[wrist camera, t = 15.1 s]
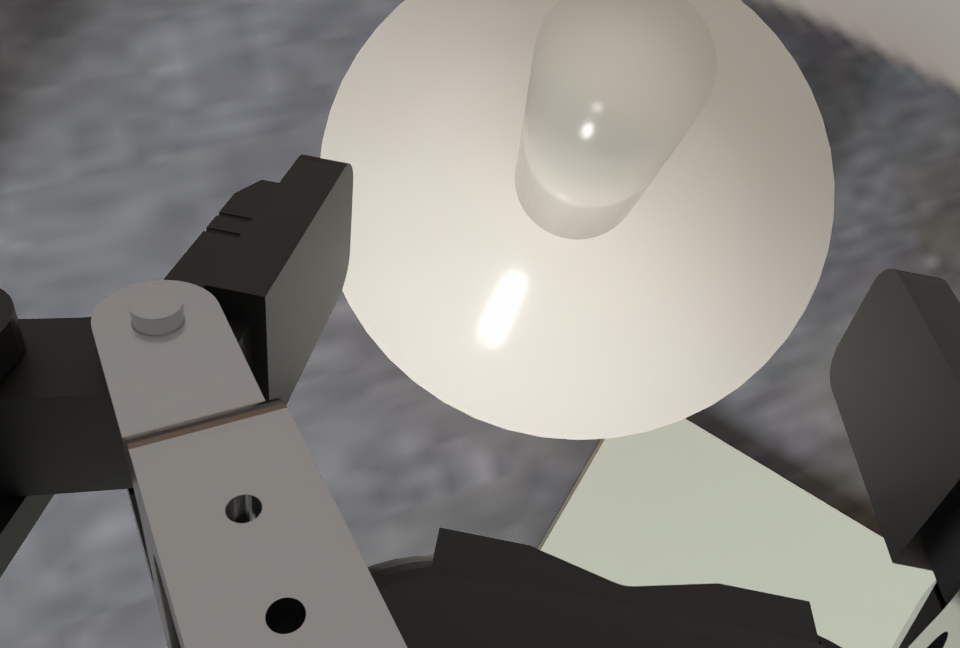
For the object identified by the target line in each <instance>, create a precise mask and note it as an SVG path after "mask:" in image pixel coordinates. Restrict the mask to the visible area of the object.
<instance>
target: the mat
mask: <svg viewBox="0 0 960 648" xmlns="http://www.w3.org/2000/svg"><path fill="white" fill-rule="evenodd" d="M537 549H539V550H541V551H543V552H546V553H548V554H550V555H553V556H555V557H557V558H559V559H562V560H564V561H566V562H569V563H571V564H573V565H576V566H578V567H580V568H582V569H585V570H587V571H589V572H592V573H594V574H596V575H599V576H601V577H603V578H606V579H608V580H610V581H612V582H615V583H618V584H620V585H625V586H657V585H685V584H712V583H719V584H724V585H729V586H734V587H739V588H744V589H749V590H754V591H759V592H764V593H769V594H774V595H779V596H784V597H789V598H795V599H800V600H805V601H810V605H811V610H812V614H813V618H814V622H815V626H816V631H817V635H819V636H821V637H823V638H825V639H828V640H829V641H831V642H833V643H835V644H837V645H838V646H840V647H842V648H892V646H893V644H894V643H895V641H896V639H897V638H898V636H899V634H900V633H901V631H902V629H903V627H904V626H905V624H906V622H907V621H908V619H909V617H910V616H911V614H912V612H913V610H914V609H915V607H916V605H917V604H918V602H919V600H920V598H921V597H922V595H923V594H924V593H925V592H926V591H927V590H928V588H929V587H930V586H931V585H932V584H933V583H934V582H935V580H936V578H935V575H934V573H933V571H930V570H925V569H920V568H915V567H910V566H905V565H900V564H895V563H892V560H891V557H890V555H889V552H888V549H887V546H886V543H885V540H884V538H883V537H881V536H879V535H878V534H876V533H874V532H873V531H871V530H869V529H868V528H866V527H864V526H863V525H861V524H859V523H858V522H856V521H854V520H853V519H851V518H850V517H848V516H846V515H845V514H843V513H841V512H840V511H838V510H836V509H835V508H833V507H831V506H830V505H828V504H826V503H825V502H823V501H821V500H820V499H818V498H816V497H815V496H813V495H811V494H810V493H808V492H806V491H805V490H803V489H801V488H800V487H798V486H796V485H795V484H793V483H791V482H790V481H788V480H786V479H785V478H783V477H781V476H780V475H778V474H776V473H775V472H773V471H771V470H770V469H768V468H767V467H765V466H763V465H762V464H760V463H758V462H757V461H755V460H753V459H752V458H750V457H748V456H747V455H745V454H743V453H742V452H740V451H738V450H737V449H735V448H733V447H732V446H730V445H728V444H727V443H725V442H723V441H722V440H720V439H718V438H717V437H715V436H713V435H712V434H710V433H708V432H707V431H705V430H703V429H702V428H700V427H698V426H697V425H695V424H693V423H692V422H690V421H688V420H687V419H683V420H681V421H678V422H675V423H672V424H669V425H666V426H663V427H660V428H657V429H654V430H651V431H648V432H643V433H638V434H632V435H627V436H622V437H616V438H607V439H601V440H600V442H599V444H598V445H597V447H596V449H595V450H594V452H593V454H592V456H591V457H590V459H589V461H588V463H587V464H586V466H585V468H584V469H583V471H582V473H581V475H580V476H579V478H578V480H577V481H576V483H575V485H574V487H573V488H572V490H571V492H570V493H569V495H568V497H567V499H566V500H565V502H564V504H563V505H562V507H561V509H560V511H559V512H558V514H557V516H556V517H555V519H554V521H553V523H552V524H551V526H550V528H549V530H548V531H547V533H546V535H545V536H544V538H543V540H542V542H541V543H540V545H539V547H538V548H537Z"/></svg>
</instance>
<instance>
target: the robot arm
mask: <svg viewBox="0 0 960 648" xmlns="http://www.w3.org/2000/svg"><path fill="white" fill-rule="evenodd" d="M352 197H353V169H352V166H351V164H349V163H344V162H339V161H334V160H328V159H323V158H318V157H313V156H307V155H301V156H299V157H298V159H297V160H296V161H295V163H294V164H293V165H292V167H291V168H290V169H289V171H288V172H287V173H286V175H285V176H284V177H283V179H282V180H281V182H280V183H276V182H270V181H265V180H260V181H258V182H256V183H254V184H252V185H250V186H248V187H246V188H244V189H242V190H240V191H239V192H237V193H235V194H234V195H233V196H232V197H231V199H230V200H229V201H228V202H227V203H226V205H225V206H224V207H223V208H222V209H221V211H220V212H219V216H216V217H215V218H214V219H213V220H212V222H211V223H210V224H209V225H208V226H207V230H206V232H205V231H203V232H202V234H201V235H200V236H199V237H198V238H197V240H196V241H195V242H194V243H193V245H192V246H191V247H190V248H189V249H188V251H187V252H186V253H185V254H184V255H183V257H182V258H181V259H180V260H179V261H178V263H177V264H176V265H175V266H174V268H173V269H172V270H171V271H170V272H169V274H168V275H167V276H166V277H165V278H164V280H153V281H145V282H141V283H136V284H133V285H130V286H126V287H124V288H122V289H119V290H117V291H115V292H113V293H112V294H110V295H109V296H107V297H106V298H105V299H103V300H102V301H101V302H100V303H99V304H98V306H97V307H96V308H95V310H94V312H93V314H92V317H84V318H53V319H18V318H17V315H16V311H15V308H14V305H13V301H12V299H11V298H10V296H9V295H8V294H7V293H6V292H5V291H4V290H2V289H0V577H1V576H2V574H3V572H4V571H5V569H6V568H7V566H8V565H9V563H10V562H11V560H12V559H13V557H14V555H15V554H16V552H17V551H18V549H19V548H20V546H21V545H22V543H23V542H24V540H25V539H26V537H27V535H28V534H29V532H30V531H31V529H32V528H33V526H34V525H35V523H36V522H37V520H38V518H39V517H40V515H41V514H42V512H43V511H44V509H45V508H46V506H47V505H48V503H49V502H50V500H51V498H52V497H53V495H54V494H60V493H74V492H87V491H101V490H115V489H127V492H128V496H129V500H130V504H131V507H132V511H133V515H134V518H135V522H136V526H137V530H138V533H139V537H140V541H141V545H142V548H143V552H144V556H145V560H146V563H147V567H148V571H149V574H150V578H151V582H152V586H153V589H154V593H155V597H156V601H157V605H158V608H159V612H160V616H161V621H162V625H163V629H164V633H165V637H166V642H167V646H168V648H842V647H840V646H838V645H837V644H835V643H833V642H831V641H829V640H828V639H825V638H823V637H821V636H819V635H817V631H816V626H815V622H814V618H813V614H812V610H811V605H810V601H805V600H800V599H795V598H789V597H784V596H779V595H774V594H769V593H764V592H759V591H754V590H749V589H744V588H739V587H734V586H729V585H724V584H719V583H712V584H685V585H657V586H625V585H620V584H618V583H615V582H612V581H610V580H608V579H606V578H603V577H601V576H599V575H596V574H594V573H592V572H589V571H587V570H585V569H582V568H580V567H578V566H576V565H573V564H571V563H569V562H566V561H564V560H562V559H559V558H557V557H555V556H553V555H550V554H548V553H546V552H543V551H541V550H539V549H536V548H534V547H532V546H529V545H524V544H519V543H514V542H509V541H504V540H499V539H494V538H489V537H484V536H479V535H474V534H469V533H464V532H459V531H454V530H449V529H444V528H440V529H439V534H438V538H437V543H436V548H435V553H434V555H430V556H413V557H407V558H400V559H394V560H390V561H387V562H383V563H379V564H376V565H372V566H370V567H367V566H366V564H365V562H364V560H363V558H362V556H361V554H360V552H359V550H358V548H357V545H356V543H355V541H354V539H353V537H352V535H351V533H350V531H349V529H348V527H347V525H346V523H345V521H344V519H343V517H342V515H341V513H340V511H339V509H338V507H337V505H336V503H335V501H334V499H333V497H332V495H331V493H330V491H329V489H328V487H327V485H326V483H325V481H324V479H323V477H322V475H321V473H320V471H319V469H318V467H317V465H316V463H315V461H314V459H313V457H312V455H311V453H310V451H309V449H308V447H307V445H306V443H305V441H304V439H303V437H302V435H301V433H300V431H299V429H298V427H297V425H296V423H295V421H294V419H293V417H292V415H291V413H290V411H289V409H288V408H287V406H286V405H287V402H288V400H289V398H290V396H291V394H292V392H293V390H294V388H295V386H296V384H297V382H298V380H299V378H300V376H301V374H302V371H303V369H304V367H305V365H306V363H307V361H308V359H309V357H310V355H311V353H312V351H313V349H314V347H315V345H316V343H317V340H318V338H319V336H320V334H321V332H322V330H323V328H324V326H325V324H326V322H327V320H328V318H329V316H330V314H331V312H332V309H333V307H334V305H335V303H336V301H337V299H338V297H339V295H340V293H341V291H342V288H343V285H344V282H345V279H346V275H347V270H348V265H349V257H350V242H351V220H352ZM830 383H831V388H832V391H833V394H834V397H835V400H836V403H837V406H838V409H839V411H840V414H841V417H842V420H843V423H844V426H845V429H846V432H847V434H848V437H849V440H850V443H851V446H852V449H853V452H854V454H855V457H856V460H857V463H858V466H859V469H860V472H861V474H862V477H863V480H864V483H865V486H866V489H867V492H868V494H869V497H870V500H871V503H872V506H873V509H874V512H875V515H876V517H877V520H878V523H879V526H880V529H881V532H882V535H883V537H884V540H885V543H886V546H887V549H888V552H889V555H890V557H891V560H892V563H895V564H900V565H905V566H910V567H915V568H920V569H925V570H930V571H933V573H934V575H935V578H936V580H935V582H934V583H933V584H932V585H931V586H930V587H929V588H928V590H927V591H926V592H925V593H924V594H923V595H922V597H921V598H920V600H919V602H918V604H917V605H916V607H915V609H914V610H913V612H912V614H911V616H910V617H909V619H908V621H907V622H906V624H905V626H904V627H903V629H902V631H901V633H900V634H899V636H898V638H897V639H896V641H895V643H894V644H893V646H892V648H960V303H959V301H958V300H957V298H956V296H955V295H954V293H953V292H952V290H951V288H950V287H949V285H948V284H947V283H946V281H945V280H943V279H941V278H937V277H932V276H926V275H921V274H916V273H911V272H906V271H900V270H895V269H887V270H885V271H883V272H882V273H881V274H879V275H878V277H877V278H876V279H875V281H874V282H873V284H872V286H871V288H870V289H869V291H868V293H867V295H866V296H865V298H864V300H863V302H862V304H861V305H860V307H859V309H858V311H857V312H856V314H855V316H854V318H853V320H852V321H851V323H850V325H849V327H848V329H847V330H846V332H845V334H844V336H843V337H842V339H841V341H840V343H839V345H838V346H837V348H836V351H835V353H834V356H833V359H832V363H831V370H830Z"/></svg>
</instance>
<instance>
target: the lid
mask: <svg viewBox="0 0 960 648" xmlns="http://www.w3.org/2000/svg"><path fill="white" fill-rule="evenodd" d="M320 158H323V159H328V160H334V161H339V162H344V163H349V164H351V166H352V169H353V197H352V220H351V242H350V257H349V265H348V270H347V275H346V279H345V282H344V285H343V288H342V290H343V292H344V295H345V297H346V299H347V301H348V303H349V305H350V306H351V308H352V310H353V311H354V313H355V314H356V316H357V318H358V319H359V321H360V322H361V324H362V325H363V327H364V329H365V330H366V332H367V333H368V334H369V335H370V337H371V338H372V339H373V340H374V341H375V343H376V344H377V345H378V346H379V347H380V348H381V350H382V351H383V352H384V353H385V354H386V356H387V357H388V358H389V359H390V360H391V361H392V362H393V363H394V364H396V365H397V366H398V367H399V368H400V369H401V370H402V371H403V372H404V373H405V374H406V375H408V376H409V377H410V378H411V379H412V380H413V381H414V382H416V383H417V384H418V385H420V386H421V387H423V388H424V389H426V390H427V391H428V392H430V393H431V394H433V395H434V396H436V397H437V398H438V399H440V400H441V401H443V402H444V403H446V404H448V405H450V406H452V407H454V408H456V409H458V410H460V411H462V412H463V413H465V414H467V415H469V416H471V417H473V418H475V419H478V420H481V421H484V422H487V423H489V424H492V425H495V426H498V427H500V428H503V429H506V430H511V431H515V432H520V433H525V434H529V435H534V436H539V437H546V438H559V439H571V440H587V439H607V438H616V437H622V436H627V435H632V434H638V433H643V432H648V431H651V430H654V429H657V428H660V427H663V426H666V425H669V424H672V423H675V422H678V421H681V420H683V419H685V418H687V417H689V416H691V415H693V414H695V413H697V412H699V411H701V410H703V409H705V408H707V407H710V406H711V405H713V404H714V403H716V402H717V401H719V400H720V399H722V398H723V397H725V396H726V395H728V394H729V393H731V392H732V391H734V390H735V389H737V388H738V387H740V386H741V385H742V384H743V383H744V382H745V381H747V380H748V379H749V378H750V377H751V376H752V375H753V374H754V373H756V372H757V371H758V370H759V369H760V368H761V367H762V366H764V365H765V364H766V362H767V361H768V360H769V359H770V358H771V357H772V355H773V354H774V353H775V352H776V351H777V350H778V348H779V347H780V346H781V345H782V344H783V343H784V341H785V340H786V339H787V338H788V336H789V335H790V333H791V332H792V330H793V328H794V327H795V325H796V324H797V322H798V321H799V319H800V317H801V316H802V314H803V313H804V311H805V310H806V307H807V305H808V303H809V301H810V299H811V296H812V294H813V292H814V290H815V288H816V286H817V283H818V281H819V279H820V275H821V272H822V269H823V265H824V262H825V259H826V256H827V252H828V249H829V243H830V237H831V231H832V224H833V218H834V184H835V183H834V174H833V166H832V157H831V150H830V146H829V142H828V138H827V134H826V130H825V126H824V122H823V118H822V116H821V113H820V111H819V108H818V106H817V103H816V101H815V98H814V96H813V93H812V91H811V88H810V87H809V85H808V83H807V81H806V79H805V78H804V76H803V74H802V72H801V70H800V69H799V67H798V65H797V63H796V61H795V60H794V58H793V57H792V56H791V54H790V53H789V52H788V50H787V49H786V48H785V46H784V45H783V44H782V42H781V41H780V39H779V38H778V37H777V35H776V34H775V33H774V32H773V31H772V30H771V29H770V28H769V27H768V26H767V25H766V24H765V23H764V21H763V20H762V19H761V18H760V17H759V16H758V15H757V14H756V13H755V12H754V11H753V10H752V9H751V8H749V7H748V6H747V5H746V4H744V3H743V2H742V1H741V0H405V1H404V2H402V3H401V4H400V5H399V6H398V7H397V8H396V9H395V10H394V11H393V12H392V13H391V14H390V15H389V16H388V17H387V18H386V19H385V20H384V21H383V22H382V23H381V24H380V25H379V26H378V27H377V28H376V30H375V31H374V32H373V34H372V35H371V36H370V38H369V39H368V40H367V42H366V43H365V44H364V46H363V47H362V48H361V50H360V51H359V52H358V54H357V55H356V57H355V59H354V61H353V63H352V64H351V66H350V68H349V70H348V71H347V73H346V75H345V77H344V79H343V80H342V82H341V85H340V87H339V90H338V92H337V95H336V97H335V100H334V102H333V105H332V107H331V110H330V113H329V117H328V121H327V125H326V129H325V133H324V137H323V141H322V148H321V157H320Z"/></svg>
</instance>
